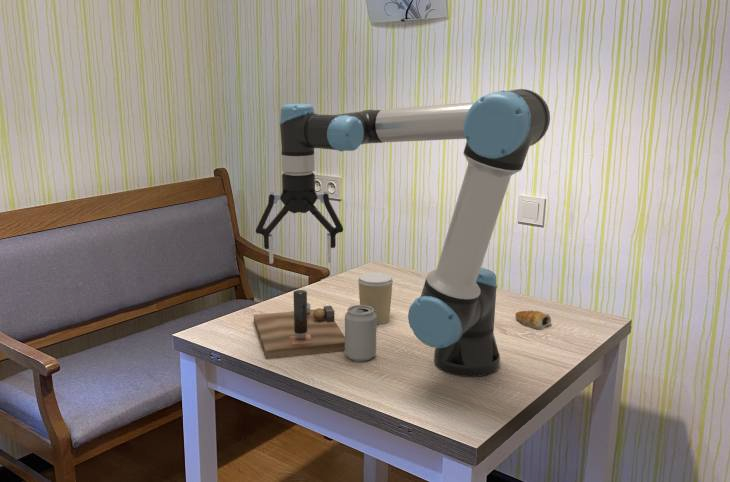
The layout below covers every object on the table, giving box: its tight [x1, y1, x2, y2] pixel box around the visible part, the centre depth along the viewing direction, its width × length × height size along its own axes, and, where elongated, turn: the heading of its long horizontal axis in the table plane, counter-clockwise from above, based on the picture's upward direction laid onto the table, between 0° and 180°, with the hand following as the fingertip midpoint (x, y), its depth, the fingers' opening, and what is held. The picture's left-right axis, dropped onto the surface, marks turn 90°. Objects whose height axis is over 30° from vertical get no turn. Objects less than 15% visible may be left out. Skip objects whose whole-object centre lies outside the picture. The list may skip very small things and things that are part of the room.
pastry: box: [515, 310, 552, 331], centre depth 190 cm, size 9×7×4 cm
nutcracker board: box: [253, 305, 345, 360], centre depth 181 cm, size 24×20×5 cm
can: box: [344, 304, 377, 362], centre depth 168 cm, size 8×8×12 cm
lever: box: [293, 289, 312, 339], centre depth 181 cm, size 22×4×12 cm, turn 3°
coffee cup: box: [357, 271, 394, 325], centre depth 191 cm, size 9×9×12 cm
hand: (300, 261), depth 168 cm, fingers open, 13 cm apart
